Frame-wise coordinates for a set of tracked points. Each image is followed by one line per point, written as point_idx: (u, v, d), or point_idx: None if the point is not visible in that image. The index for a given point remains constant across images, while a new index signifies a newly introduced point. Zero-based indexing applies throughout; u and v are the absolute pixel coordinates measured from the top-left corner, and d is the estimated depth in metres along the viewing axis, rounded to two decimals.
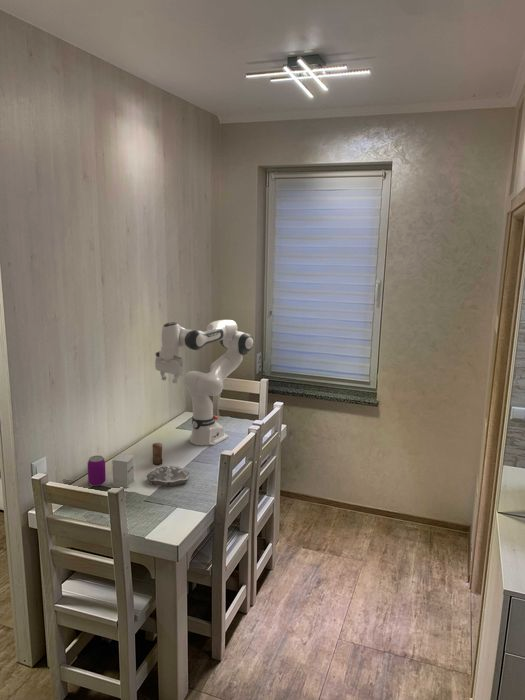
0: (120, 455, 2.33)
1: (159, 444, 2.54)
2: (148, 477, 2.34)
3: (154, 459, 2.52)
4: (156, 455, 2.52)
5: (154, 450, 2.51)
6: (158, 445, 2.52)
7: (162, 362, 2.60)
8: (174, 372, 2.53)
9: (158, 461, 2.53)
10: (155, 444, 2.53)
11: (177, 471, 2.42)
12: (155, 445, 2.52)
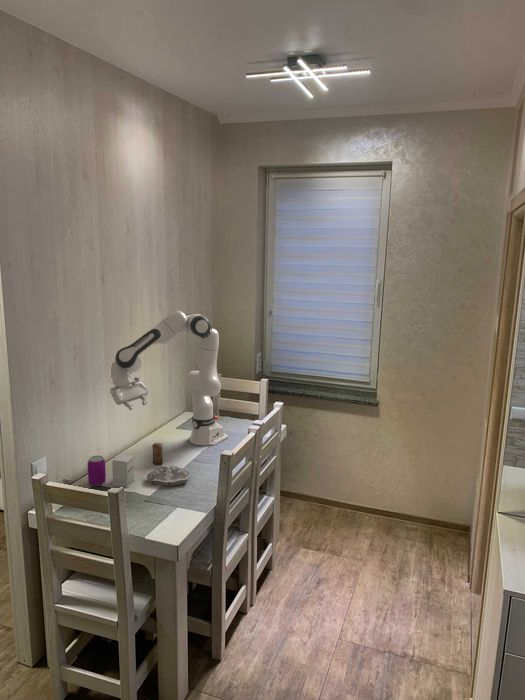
0: (120, 455, 2.33)
1: (159, 444, 2.54)
2: (148, 477, 2.34)
3: (154, 459, 2.52)
4: (156, 455, 2.52)
5: (154, 450, 2.51)
6: (158, 445, 2.52)
7: None
8: None
9: (158, 461, 2.53)
10: (155, 444, 2.53)
11: (177, 471, 2.42)
12: (155, 445, 2.52)
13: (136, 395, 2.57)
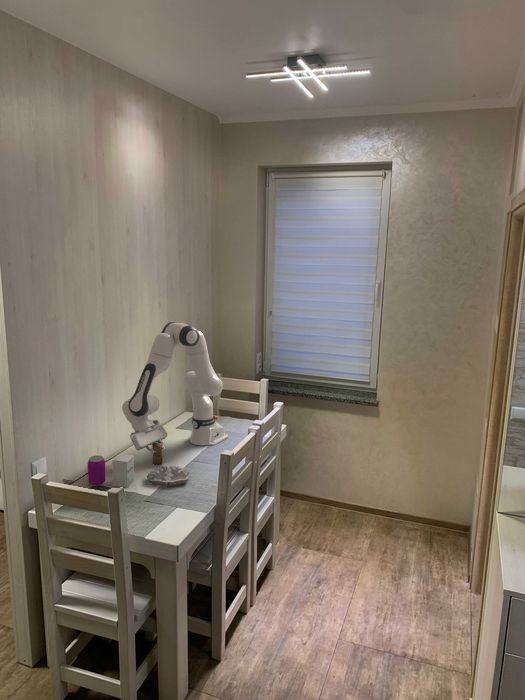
0: (120, 455, 2.33)
1: (159, 444, 2.54)
2: (148, 477, 2.34)
3: (154, 459, 2.52)
4: (156, 455, 2.52)
5: None
6: (158, 445, 2.52)
7: None
8: None
9: (158, 461, 2.53)
10: (155, 444, 2.53)
11: (177, 471, 2.42)
12: (155, 445, 2.52)
13: (156, 439, 2.55)
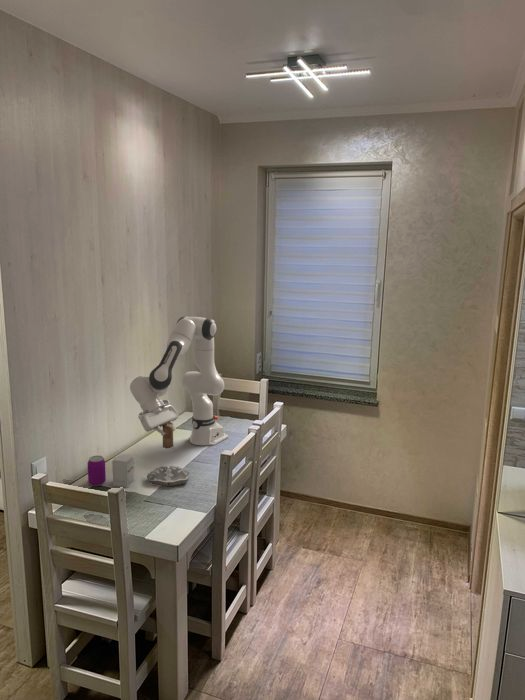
0: (120, 455, 2.33)
1: (169, 425, 2.34)
2: (148, 477, 2.34)
3: (164, 441, 2.33)
4: (167, 437, 2.32)
5: None
6: (169, 426, 2.33)
7: None
8: None
9: (168, 444, 2.33)
10: (166, 425, 2.34)
11: (177, 471, 2.42)
12: (165, 426, 2.33)
13: (166, 420, 2.35)
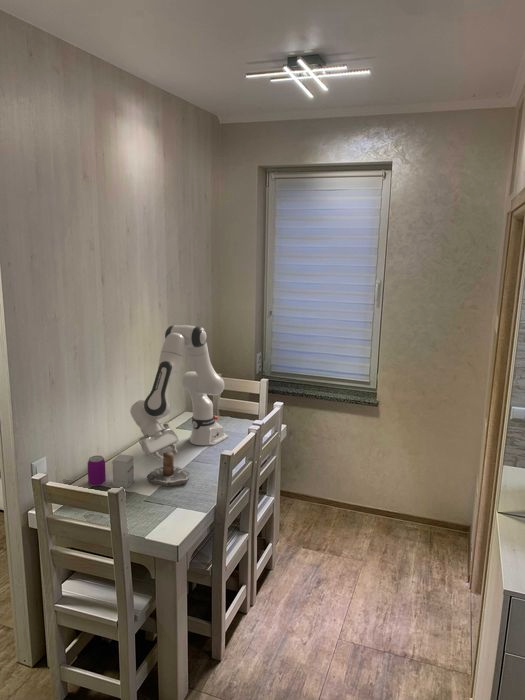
0: (120, 455, 2.33)
1: (170, 453, 2.37)
2: (148, 477, 2.34)
3: (165, 469, 2.36)
4: (167, 465, 2.35)
5: (165, 460, 2.35)
6: (169, 454, 2.36)
7: None
8: None
9: (169, 472, 2.36)
10: (166, 454, 2.36)
11: (177, 471, 2.42)
12: (166, 454, 2.36)
13: (166, 444, 2.38)
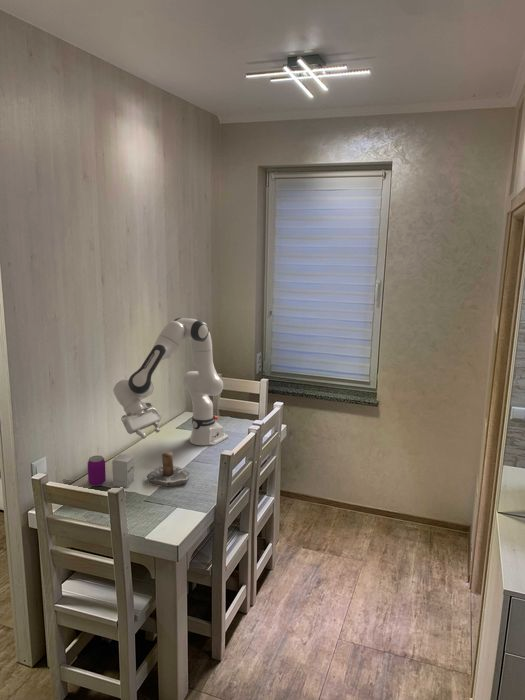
0: (120, 455, 2.33)
1: (169, 453, 2.37)
2: (148, 477, 2.34)
3: (165, 469, 2.36)
4: (167, 465, 2.35)
5: (164, 460, 2.35)
6: (168, 454, 2.36)
7: None
8: None
9: (169, 471, 2.36)
10: (165, 454, 2.36)
11: (177, 471, 2.42)
12: (165, 454, 2.35)
13: (149, 422, 2.41)
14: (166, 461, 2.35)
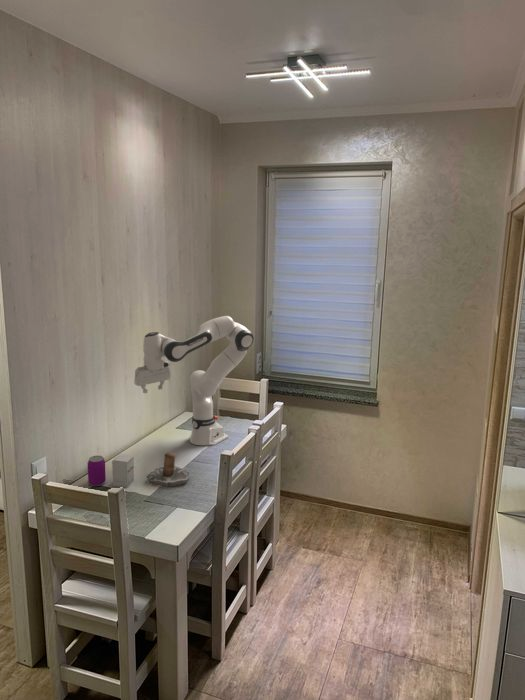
0: (120, 455, 2.33)
1: (171, 454, 2.36)
2: (148, 477, 2.34)
3: (167, 470, 2.35)
4: (170, 466, 2.35)
5: (168, 461, 2.34)
6: (172, 455, 2.35)
7: None
8: None
9: (171, 472, 2.36)
10: (168, 454, 2.35)
11: (177, 471, 2.42)
12: (168, 455, 2.34)
13: (156, 380, 2.58)
14: (170, 462, 2.34)
